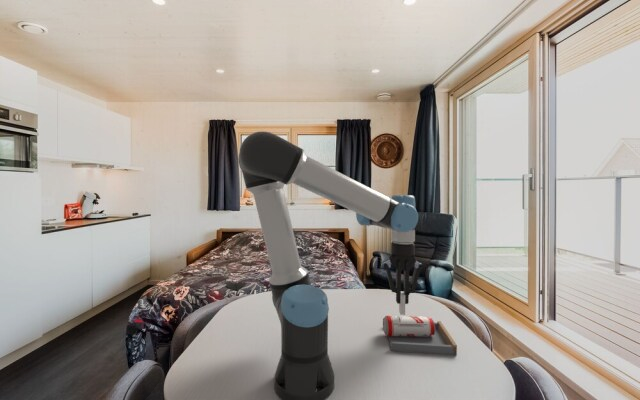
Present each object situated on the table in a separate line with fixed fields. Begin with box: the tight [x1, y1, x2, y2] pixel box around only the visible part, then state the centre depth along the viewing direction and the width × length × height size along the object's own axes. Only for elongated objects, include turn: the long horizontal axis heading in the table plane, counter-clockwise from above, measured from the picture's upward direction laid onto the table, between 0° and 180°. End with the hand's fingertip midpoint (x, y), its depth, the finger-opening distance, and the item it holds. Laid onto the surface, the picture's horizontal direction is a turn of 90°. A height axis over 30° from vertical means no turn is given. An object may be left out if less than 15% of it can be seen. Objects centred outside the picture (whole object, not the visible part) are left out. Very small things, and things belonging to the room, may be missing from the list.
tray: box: [387, 320, 458, 356], centre depth 95 cm, size 16×19×3 cm
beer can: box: [382, 315, 435, 337], centre depth 97 cm, size 6×6×16 cm
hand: (402, 312), depth 95 cm, fingers closed
